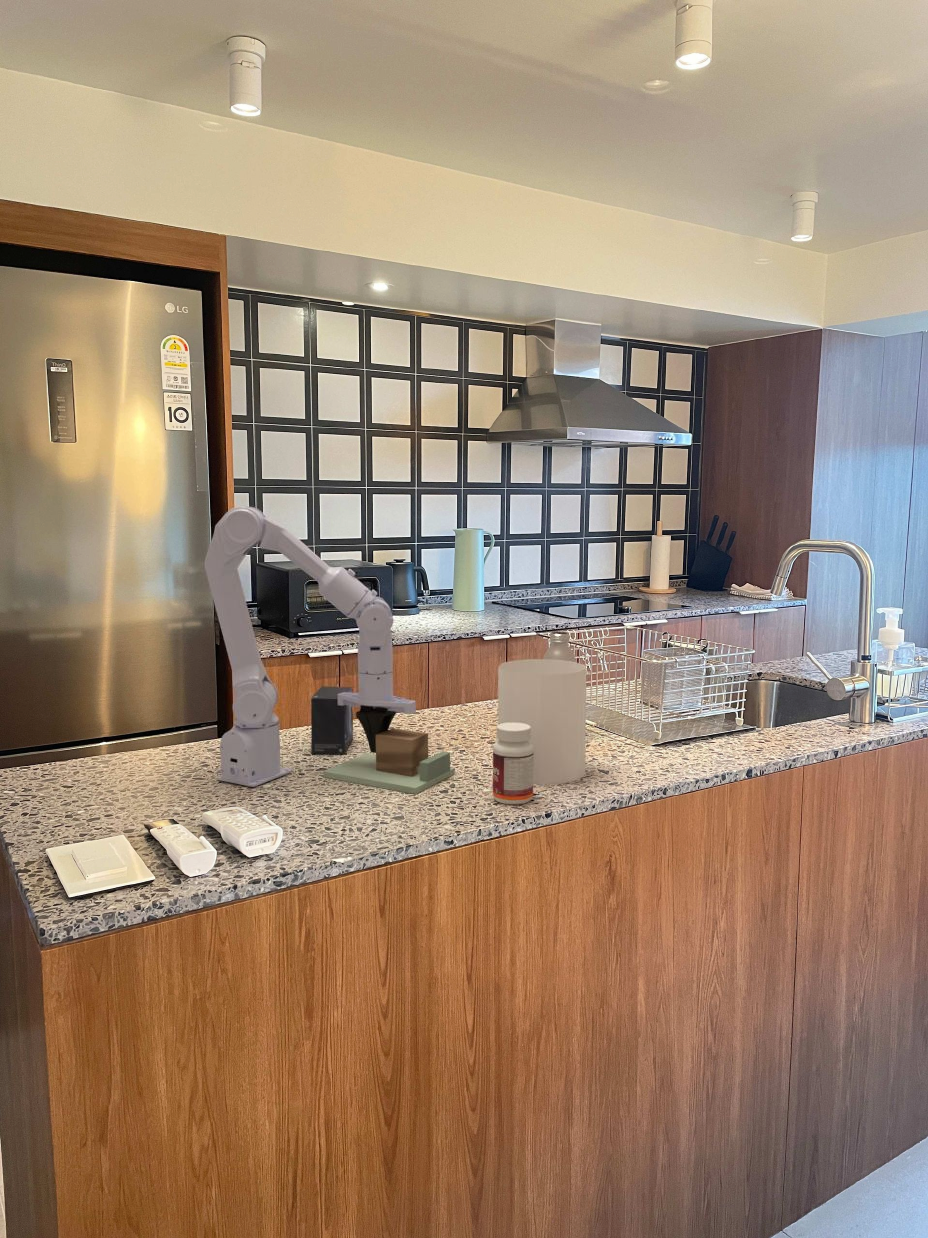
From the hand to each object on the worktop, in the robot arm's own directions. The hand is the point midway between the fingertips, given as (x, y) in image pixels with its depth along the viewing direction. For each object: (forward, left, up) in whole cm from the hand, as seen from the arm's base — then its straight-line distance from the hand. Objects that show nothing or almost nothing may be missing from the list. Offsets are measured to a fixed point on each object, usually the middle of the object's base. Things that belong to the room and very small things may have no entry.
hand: (376, 751), depth 147 cm
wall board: (-1, -3, -3) cm, 5 cm away
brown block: (0, -5, -2) cm, 6 cm away
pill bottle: (-2, -26, -4) cm, 27 cm away
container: (+13, -24, -4) cm, 28 cm away
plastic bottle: (+36, -17, -4) cm, 40 cm away
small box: (+8, +16, -4) cm, 18 cm away
